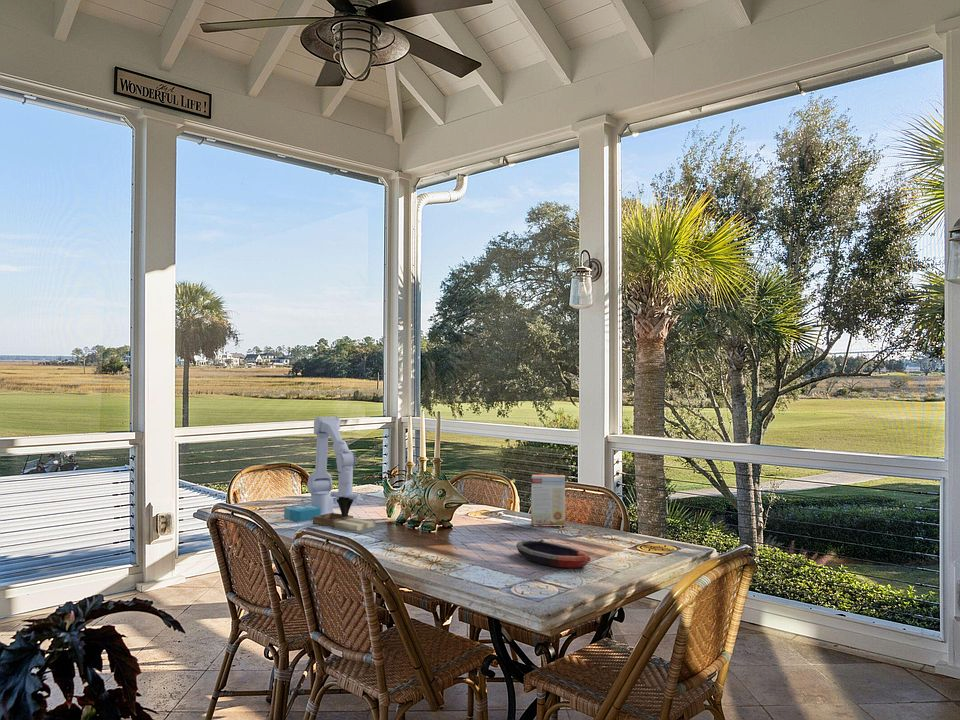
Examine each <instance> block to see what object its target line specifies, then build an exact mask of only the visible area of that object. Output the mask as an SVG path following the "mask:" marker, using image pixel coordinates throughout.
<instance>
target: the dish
mask: <svg viewBox="0 0 960 720" xmlns="http://www.w3.org/2000/svg"><path fill="white" fill-rule="evenodd" d="M515 546H516V548H517V551H518V553H519V554H520V555H521V557H523V558H525V559H526V560H529V561H530V562H531V561H532V562H533V563H537V564H541V565H543V566H549V567H554V568H565V569H566V568H567V569H575V568H582V567H585V566H587V564H588V563H589V562H591V557H590V556H589V555H588V554H587V553H586V552H584V550H581V549H578V548H575V547H572V546H568V545H564V544H559V543H554V542H550V541H549V542H548V541H544V539H540V540H520V541H518V542H517V543H516V545H515Z"/></svg>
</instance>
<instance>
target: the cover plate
mask: <svg viewBox="0 0 960 720" xmlns="http://www.w3.org/2000/svg"><path fill="white" fill-rule="evenodd" d="M376 522H377V521H376V520H371V519H365V518H359V517H358V518H357V517H353V518H350V519H345V520H341V521H337V522H335V527H338V528H344V529H350V530H356V531H358V530H362V529H366V528H370V527H374V526H375V524H376V525H377V523H376Z"/></svg>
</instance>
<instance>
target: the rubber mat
mask: <svg viewBox="0 0 960 720" xmlns="http://www.w3.org/2000/svg"><path fill="white" fill-rule="evenodd" d="M386 528H389V527H388V525H381V524H377V523H376V524H375V526H374V527H370V528H366V529H362V530H358V531H356V530H350V529H344V528H338V527H330V529H331V530H334V531H335V530H336V531H341V532H348V533H354V534H359V535H362V534H363V535H364V534H367V533H371V532H374V531H379V530H381V529H386Z"/></svg>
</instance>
